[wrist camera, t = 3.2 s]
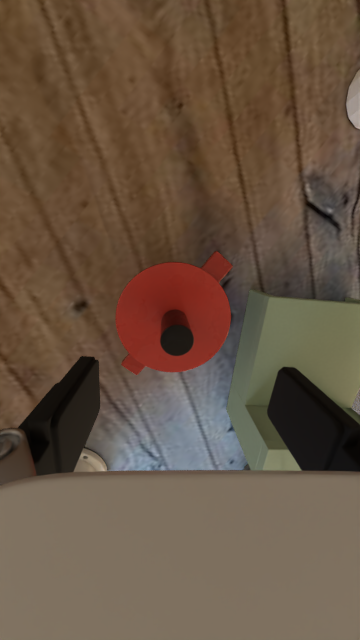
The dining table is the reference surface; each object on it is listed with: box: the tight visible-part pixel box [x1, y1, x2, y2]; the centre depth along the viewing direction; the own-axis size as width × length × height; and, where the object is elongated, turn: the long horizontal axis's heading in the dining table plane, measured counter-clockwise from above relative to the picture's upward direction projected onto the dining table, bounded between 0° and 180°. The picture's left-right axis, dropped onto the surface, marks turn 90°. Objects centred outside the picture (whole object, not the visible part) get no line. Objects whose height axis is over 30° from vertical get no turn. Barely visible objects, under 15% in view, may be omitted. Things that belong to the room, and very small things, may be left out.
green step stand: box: [226, 289, 360, 471], centre depth 28 cm, size 22×17×13 cm
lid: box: [116, 262, 231, 372], centre depth 19 cm, size 12×12×6 cm
